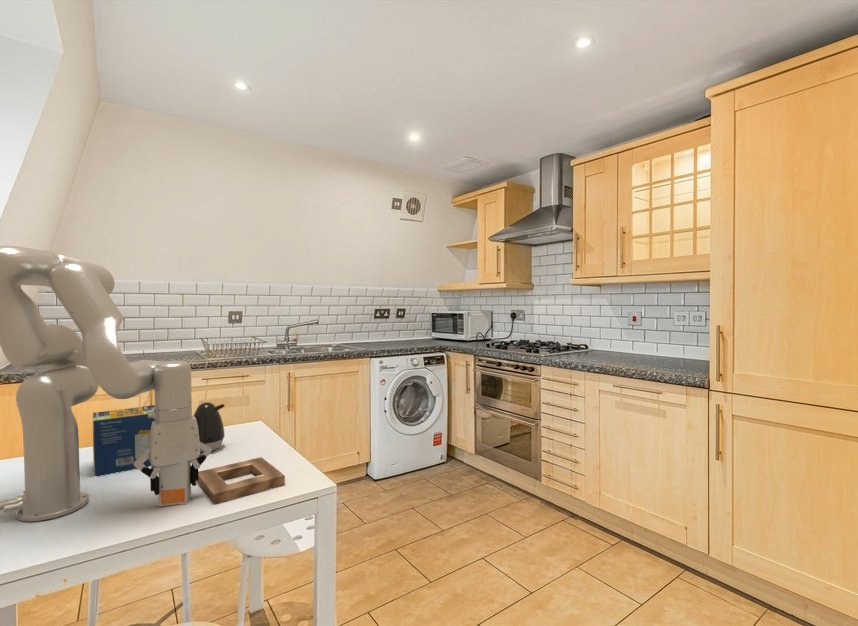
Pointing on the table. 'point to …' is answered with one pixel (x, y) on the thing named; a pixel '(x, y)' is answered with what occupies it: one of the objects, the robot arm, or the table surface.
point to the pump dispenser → (210, 425)
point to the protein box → (120, 439)
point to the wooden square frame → (222, 492)
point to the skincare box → (175, 483)
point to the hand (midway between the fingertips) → (175, 488)
